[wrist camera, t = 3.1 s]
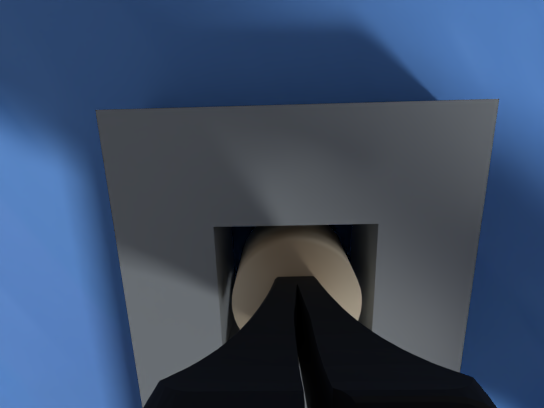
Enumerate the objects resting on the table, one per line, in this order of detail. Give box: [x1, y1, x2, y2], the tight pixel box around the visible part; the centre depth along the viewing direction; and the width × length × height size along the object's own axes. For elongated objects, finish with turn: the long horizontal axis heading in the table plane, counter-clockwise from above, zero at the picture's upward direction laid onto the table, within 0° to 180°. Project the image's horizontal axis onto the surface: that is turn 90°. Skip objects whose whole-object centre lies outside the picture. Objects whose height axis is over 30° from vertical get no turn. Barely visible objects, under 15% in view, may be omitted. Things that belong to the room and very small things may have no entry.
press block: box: [96, 99, 499, 408], centre depth 16 cm, size 12×26×4 cm, turn 2°
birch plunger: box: [232, 225, 362, 329], centre depth 13 cm, size 4×4×4 cm
